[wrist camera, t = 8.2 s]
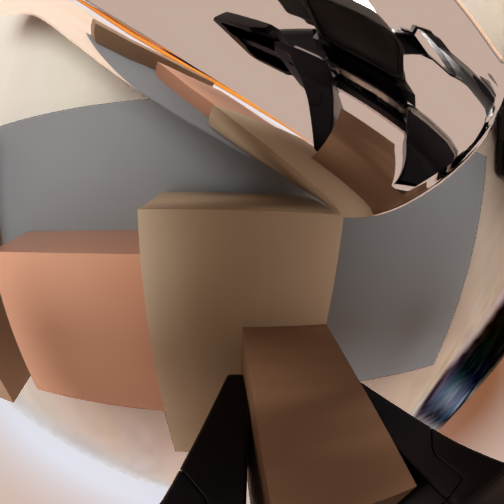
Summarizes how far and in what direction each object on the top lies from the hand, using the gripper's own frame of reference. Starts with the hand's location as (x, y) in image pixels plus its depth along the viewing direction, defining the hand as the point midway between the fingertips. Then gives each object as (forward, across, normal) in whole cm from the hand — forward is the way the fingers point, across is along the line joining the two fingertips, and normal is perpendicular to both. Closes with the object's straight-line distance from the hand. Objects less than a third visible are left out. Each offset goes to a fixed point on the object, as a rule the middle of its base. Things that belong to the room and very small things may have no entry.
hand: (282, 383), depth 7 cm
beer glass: (+1, +10, -15) cm, 18 cm away
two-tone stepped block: (+4, +1, 0) cm, 4 cm away
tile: (+4, +6, 0) cm, 8 cm away
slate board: (+4, +1, -2) cm, 5 cm away
